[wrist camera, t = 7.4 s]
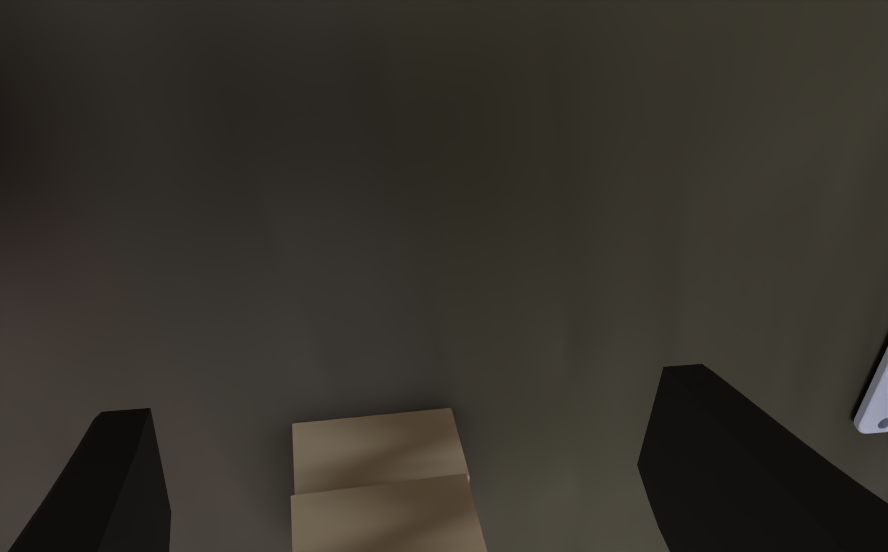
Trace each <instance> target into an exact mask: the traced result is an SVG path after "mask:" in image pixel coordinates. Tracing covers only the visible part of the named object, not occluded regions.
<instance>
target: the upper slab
mask: <svg viewBox="0 0 888 552" xmlns="http://www.w3.org/2000/svg"><path fill="white" fill-rule="evenodd" d="M291 518H292V547H293V552H487V549H486V546H485V542H484V538H483V534H482V531H481V527H480V523H479V519H478V516H477V512H476V508H475V504H474V501H473V497H472V493H471V489H470V486H469V482H468V478H467V474H466V473H465V474H457V475H449V476H441V477H433V478H426V479H418V480H410V481H402V482H394V483H386V484H379V485H371V486H363V487H355V488H347V489H339V490H332V491H324V492H316V493H308V494H300V495H292V496H291Z"/></svg>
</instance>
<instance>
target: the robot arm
mask: <svg viewBox="0 0 888 552" xmlns="http://www.w3.org/2000/svg"><path fill="white" fill-rule="evenodd" d="M854 425H855V427H856V428H857V429H858V430H859V432H861V433H865V434H869V433H879V432H888V347H887V349H886V351H885V354H884V356H883V358H882V360H881V362H880V364H879V367H878V369H877V371H876V373H875V375H874V377H873V380H872V382H871V384H870V386H869V388H868V390H867V393H866V395H865V397H864V399H863V401H862V403H861V405H860V408H859V410H858V412H857V414H856V416H855V419H854ZM637 466H638V469H639V472H640V475H641V478H642V481H643V484H644V487H645V490H646V493H647V496H648V499H649V502H650V505H651V508H652V510H653V513H654V516H655V519H656V521H657V524H658V527H659V529H660V531H661V534H662V536H663V538H664V540H665V542H666V544H667V546H668V548H669V550H670V552H888V503H886V502H885V501H883V500H882V499H881V498H879V497H878V496H876V495H875V494H873V493H872V492H870V491H869V490H868V489H866V488H865V487H863V486H862V485H860V484H859V483H858V482H856V481H855V480H853V479H852V478H851V477H849V476H848V475H847V474H845V473H844V472H842V471H841V470H840V469H838V468H837V467H836V466H834V465H833V464H832V463H830V462H829V461H827V460H826V459H825V458H823V457H822V456H821V455H819V454H818V453H817V452H816V451H814V450H813V449H812V448H810V447H809V446H808V445H806V444H805V443H804V442H802V441H801V440H800V439H799V438H797V437H796V436H795V435H793V434H792V433H791V432H790V431H788V430H787V429H786V428H784V427H783V426H782V425H781V424H779V423H778V422H777V421H775V420H774V419H773V418H772V417H770V416H769V415H768V414H767V413H765V412H764V411H763V410H761V409H760V408H759V407H758V406H756V405H755V404H754V403H753V402H751V401H750V400H749V399H748V398H746V397H745V396H744V395H742V394H741V393H740V392H739V391H737V390H736V389H735V388H734V387H732V386H731V385H730V384H728V383H727V382H726V381H725V380H723V379H722V378H721V377H719V376H718V375H717V374H715V373H714V372H713V371H711V370H710V369H708V368H707V367H706V366H704V365H703V364H695V365H682V366H670V367H663V371H662V375H661V378H660V382H659V386H658V390H657V393H656V397H655V401H654V404H653V408H652V412H651V415H650V419H649V423H648V427H647V430H646V434H645V438H644V441H643V445H642V449H641V453H640V456H639V460H638V464H637ZM170 525H171V509H170V504H169V499H168V494H167V489H166V484H165V479H164V474H163V469H162V464H161V459H160V454H159V449H158V444H157V439H156V434H155V429H154V424H153V419H152V414H151V409H150V408H145V409H132V410H120V411H107V412H101V413H100V414H99V415H98V416H97V417H96V418H95V419H94V420H93V422H92V423H91V425H90V427H89V428H88V430H87V432H86V434H85V435H84V437H83V439H82V440H81V442H80V444H79V445H78V447H77V449H76V450H75V452H74V454H73V455H72V457H71V458H70V460H69V462H68V463H67V465H66V466H65V468H64V470H63V471H62V473H61V474H60V476H59V477H58V479H57V480H56V482H55V484H54V485H53V487H52V488H51V490H50V491H49V493H48V494H47V496H46V497H45V499H44V500H43V502H42V503H41V505H40V506H39V508H38V509H37V511H36V512H35V513H34V515H33V516H32V518H31V519H30V521H29V522H28V524H27V525H26V526H25V528H24V529H23V531H22V532H21V534H20V535H19V536H18V538H17V539H16V541H15V542H14V544H13V545H12V547H11V548H10V549H9V551H8V552H169V543H170Z"/></svg>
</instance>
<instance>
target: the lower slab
mask: <svg viewBox="0 0 888 552" xmlns="http://www.w3.org/2000/svg"><path fill="white" fill-rule="evenodd" d="M292 434H293V462H294V489H295V495H300V494H308V493H316V492H324V491H332V490H339V489H347V488H355V487H363V486H371V485H379V484H386V483H394V482H402V481H410V480H418V479H426V478H433V477H441V476H449V475H457V474H465V473H466V474H467V478H468V482H469V478H470V476H469V472H468V469H467V465H466V461H465V457H464V454H463V450H462V446H461V442H460V439H459V435H458V431H457V427H456V424H455V420H454V416H453V413H452V409H451V408H443V409H433V410H423V411H413V412H403V413H393V414H383V415H373V416H363V417H353V418H343V419H333V420H323V421H313V422H303V423H293V424H292Z"/></svg>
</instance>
